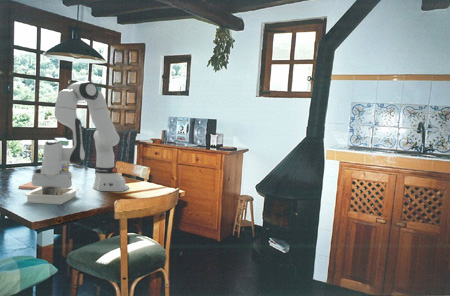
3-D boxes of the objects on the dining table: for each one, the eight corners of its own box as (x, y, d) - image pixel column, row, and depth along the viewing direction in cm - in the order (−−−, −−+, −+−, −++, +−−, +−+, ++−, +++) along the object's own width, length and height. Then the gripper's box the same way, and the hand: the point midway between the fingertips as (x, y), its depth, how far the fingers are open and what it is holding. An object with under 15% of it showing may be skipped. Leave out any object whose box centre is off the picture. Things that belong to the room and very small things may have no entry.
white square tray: (80, 195, 187) (80, 187, 187) (63, 205, 166) (63, 197, 166) (43, 193, 187) (43, 185, 186) (21, 203, 165) (21, 194, 165)
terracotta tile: (58, 184, 209) (58, 182, 209) (45, 190, 193) (45, 187, 193) (33, 183, 208) (33, 180, 208) (18, 188, 192) (18, 186, 192)
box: (62, 196, 182) (62, 184, 182) (51, 202, 170) (51, 189, 170) (53, 196, 182) (53, 184, 182) (42, 201, 170) (42, 188, 170)
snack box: (53, 168, 260) (54, 137, 257) (65, 168, 264) (66, 137, 262) (56, 173, 241) (56, 140, 239) (68, 173, 246) (69, 140, 244)
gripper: (74, 170, 177) (73, 194, 179) (36, 168, 177) (36, 192, 178) (68, 172, 171) (68, 197, 172) (30, 169, 170) (30, 195, 172)
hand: (51, 194), depth 175 cm, fingers closed on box, 5 cm apart
